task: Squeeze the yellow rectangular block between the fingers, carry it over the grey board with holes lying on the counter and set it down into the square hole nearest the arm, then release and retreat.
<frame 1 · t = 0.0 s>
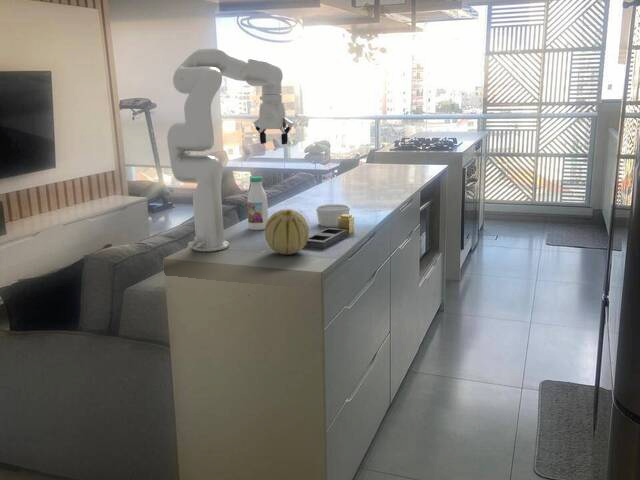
hand: (273, 143, 244), 31 cm above the countertop, tool pointing down, fingers open, 9 cm apart
ramekin: (333, 224, 243), on the countertop
yellow rectangular block: (346, 233, 228), on the countertop
grey board with holes: (325, 241, 217), on the countertop
milk bottle: (258, 228, 239), on the countertop
cantaloupe: (287, 254, 202), on the countertop
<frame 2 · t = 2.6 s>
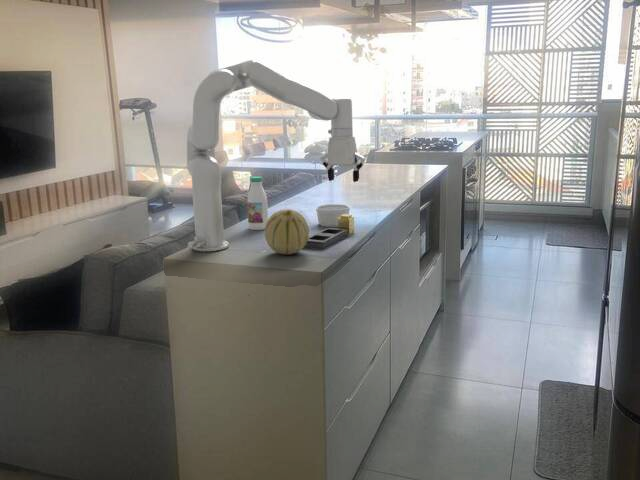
hand: (343, 180, 223), 20 cm above the countertop, tool pointing down, fingers open, 9 cm apart
nothing on the countertop moved.
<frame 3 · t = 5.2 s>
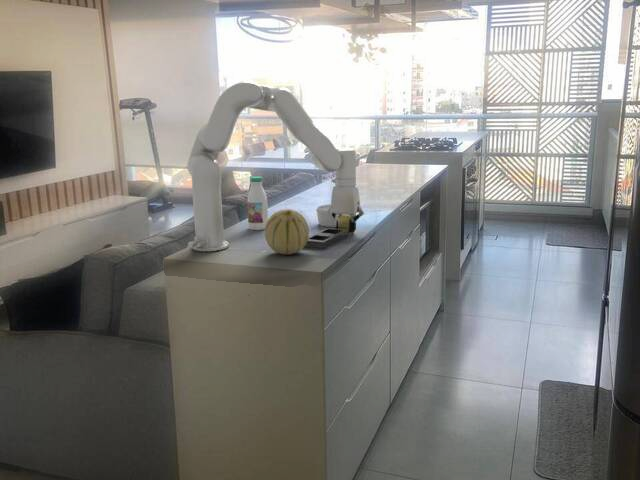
hand: (346, 231, 228), 1 cm above the countertop, tool pointing down, fingers closed on yellow rectangular block, 4 cm apart
yellow rectangular block: (346, 233, 228), on the countertop, touching gripper
everything else where it was.
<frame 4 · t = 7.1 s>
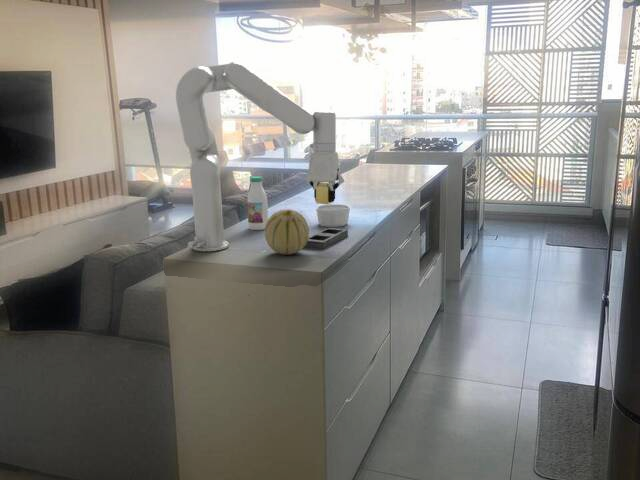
hand: (324, 200, 213), 15 cm above the countertop, tool pointing down, fingers closed on yellow rectangular block, 4 cm apart
yellow rectangular block: (324, 202, 213), point 14 cm above the countertop, touching gripper
everything else where it was.
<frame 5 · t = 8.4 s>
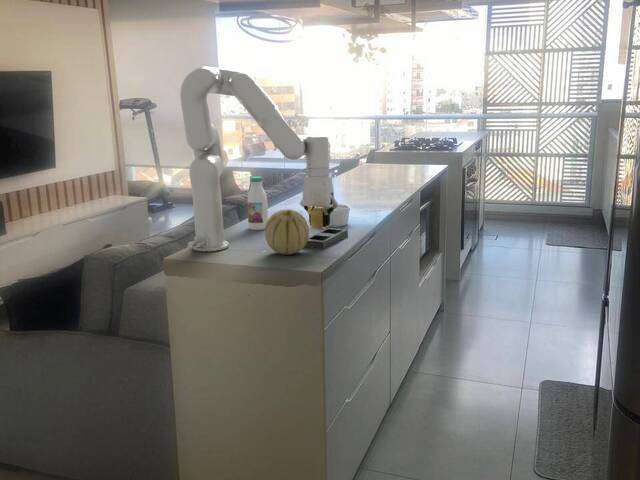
hand: (319, 224, 211), 7 cm above the countertop, tool pointing down, fingers closed on yellow rectangular block, 4 cm apart
yellow rectangular block: (319, 227, 211), point 6 cm above the countertop, touching gripper
everything else where it was.
when the fingers open (3 cm above the countertop, at t = 9.5 s): yellow rectangular block drops 3 cm, resting in grey board with holes.
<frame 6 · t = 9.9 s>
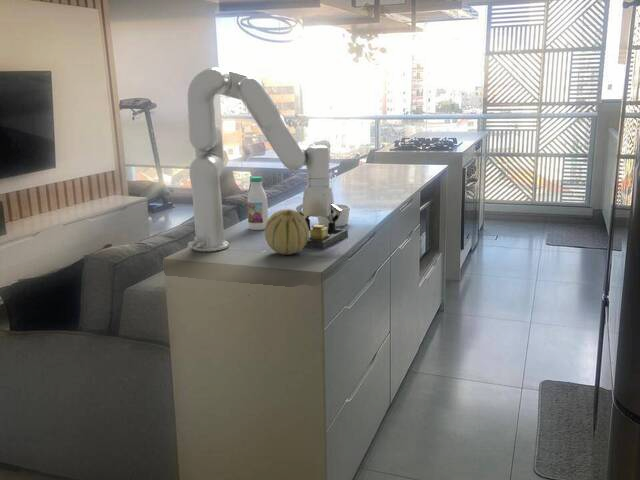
hand: (319, 232, 211), 4 cm above the countertop, tool pointing down, fingers open, 9 cm apart
yellow rectangular block: (319, 245, 212), resting in grey board with holes
everything else where it was.
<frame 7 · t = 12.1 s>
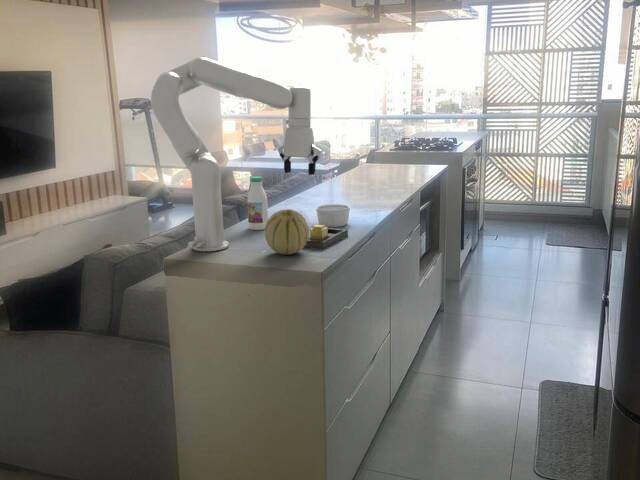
hand: (299, 173, 215), 24 cm above the countertop, tool pointing down, fingers open, 9 cm apart
nothing on the countertop moved.
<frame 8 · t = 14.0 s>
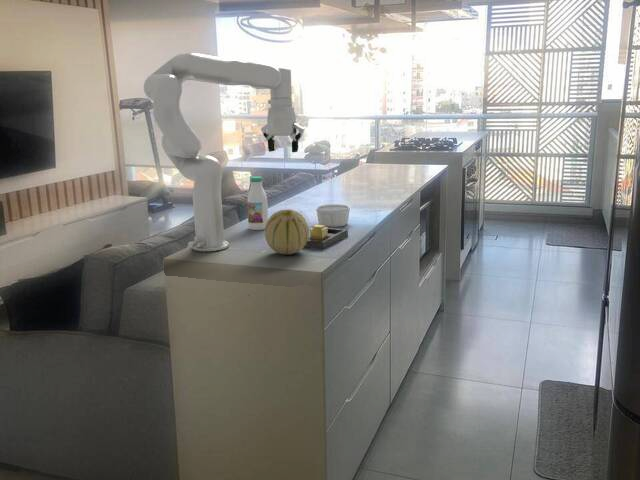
hand: (283, 151, 223), 30 cm above the countertop, tool pointing down, fingers open, 9 cm apart
nothing on the countertop moved.
at the end: yellow rectangular block 0.1 cm from the target spot on the grey board with holes, point 0.0 cm above the grey board with holes's base; yellow rectangular block tilted 0°; the gripper is holding nothing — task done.
